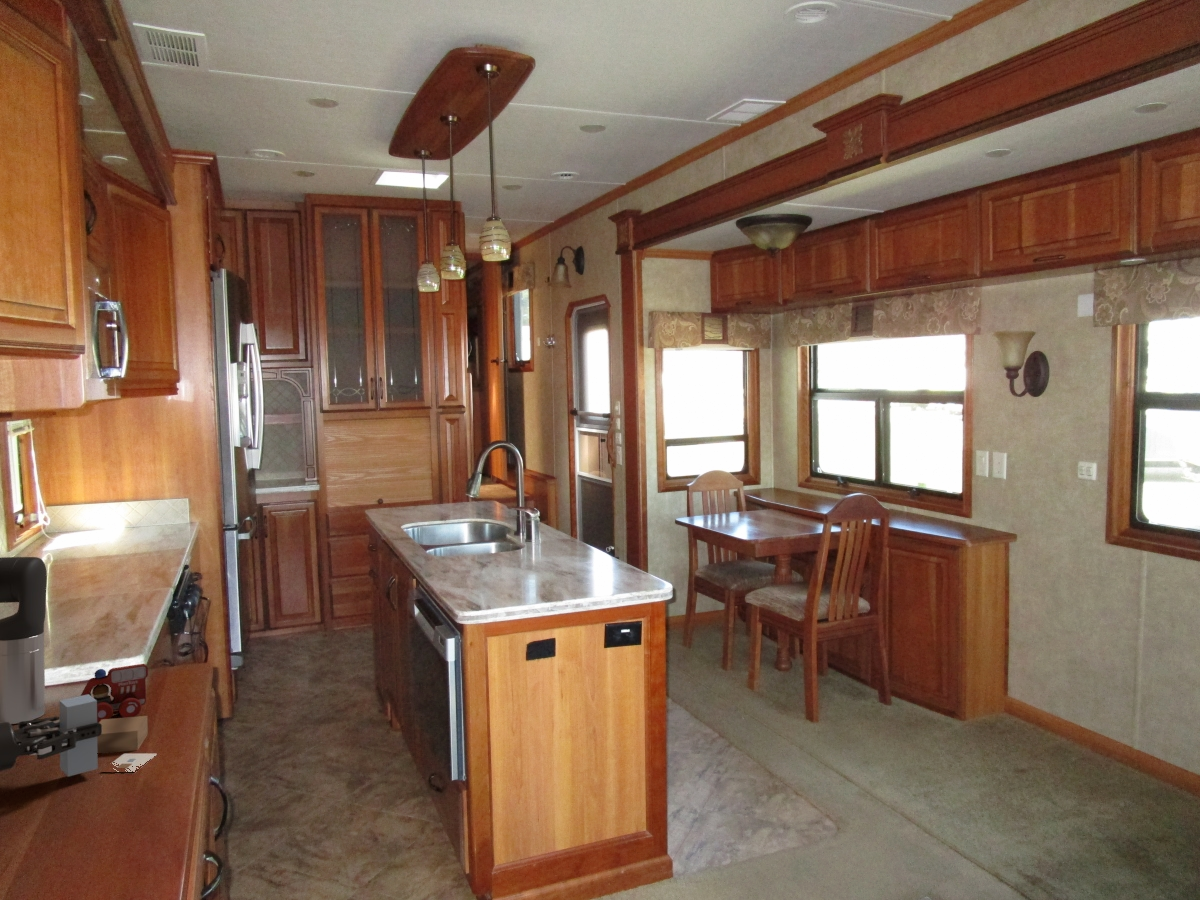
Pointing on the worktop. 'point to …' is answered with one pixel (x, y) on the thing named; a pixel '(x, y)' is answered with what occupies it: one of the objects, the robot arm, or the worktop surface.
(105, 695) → the toy fire truck
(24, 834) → the worktop surface
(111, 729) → the base block
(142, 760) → the page
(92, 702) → the pillar
